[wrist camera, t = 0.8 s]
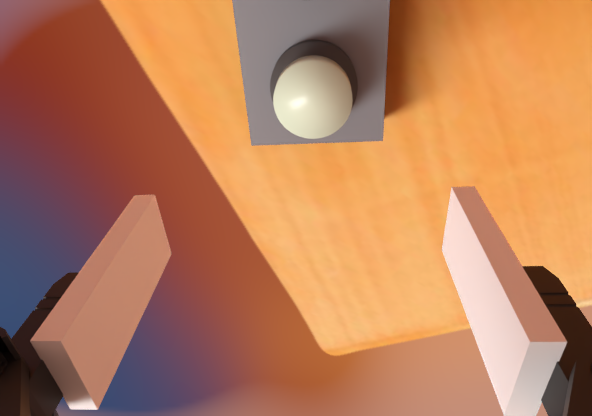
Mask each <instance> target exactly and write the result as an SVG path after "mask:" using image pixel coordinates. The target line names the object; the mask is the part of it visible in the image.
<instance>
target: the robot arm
mask: <svg viewBox="0 0 592 416" xmlns="http://www.w3.org/2000/svg"><path fill="white" fill-rule="evenodd" d="M442 251H443V254H444V257H445V260H446V262H447V265H448V268H449V270H450V273H451V276H452V278H453V281H454V284H455V286H456V289H457V292H458V294H459V297H460V300H461V302H462V305H463V308H464V310H465V313H466V316H467V318H468V321H469V324H470V326H471V329H472V331H473V334H474V337H475V339H476V342H477V345H478V347H479V350H480V353H481V355H482V358H483V361H484V363H485V366H486V369H487V372H488V374H489V377H490V380H491V382H492V385H493V387H494V390H495V393H496V396H497V398H498V401H499V404H500V406H501V409H502V411H503V414H504V416H536V415H537V413H538V410H539V408H540V405H541V403H543V405H544V407H545V409H546V412H547V414H548V416H592V327H591V325H590V324H589V322H588V321H587V319H586V318H585V316H584V315H583V313H582V312H581V310H580V309H579V308H578V307H576V303H575V302H574V300H573V299H572V297H571V296H570V295H568V291H567V290H566V289H565V287H564V286H563V284H562V283H561V281H560V280H559V278H557V277H556V276H555V275H554V274H552V273H551V272H550V271H548V270H547V269H546V268H544V267H543V266H522V265H521V264H520V262H519V260H518V258H517V257H516V255H515V253H514V252H513V250H512V248H511V247H510V245H509V243H508V242H507V240H506V238H505V237H504V235H503V233H502V232H501V230H500V228H499V227H498V225H497V223H496V222H495V220H494V218H493V217H492V215H491V213H490V212H489V210H488V208H487V207H486V205H485V203H484V202H483V200H482V198H481V197H480V195H479V193H478V192H477V190H476V188H475V187H452V188H451V195H450V201H449V208H448V214H447V220H446V227H445V233H444V239H443V246H442ZM170 256H171V250H170V247H169V243H168V240H167V237H166V233H165V229H164V226H163V222H162V218H161V215H160V211H159V208H158V204H157V201H156V197H155V195H135V196H134V197H133V198H132V200H131V201H130V202H129V204H128V205H127V207H126V208H125V209H124V211H123V212H122V214H121V215H120V216H119V218H118V219H117V221H116V222H115V223H114V225H113V226H112V228H111V229H110V230H109V232H108V233H107V234H106V236H105V237H104V239H103V240H102V242H101V243H100V244H99V246H98V247H97V248H96V250H95V251H94V253H93V254H92V255H91V257H90V258H89V259H88V261H87V262H86V264H85V265H84V266H83V268H82V269H81V271H80V272H79V273H67V274H66V275H65V276H64V277H62V278H61V279H60V280H58V281H57V282H56V283H54V284H53V285H52V287H51V288H50V289H49V291H48V292H47V293H46V295H45V296H44V299H43V300H41V301H40V302H39V304H38V305H37V306H36V308H35V311H32V313H31V314H30V315H29V317H28V318H27V319H26V321H25V322H24V323H23V324H22V326H21V327H20V328H19V330H18V331H17V332H16V334H15V335H14V336H13V337H12V339H11V338H10V336H9V335H8V334H7V332H6V330H5V329H3V328H1V327H0V416H58V413H57V411H56V410H55V409H56V407H57V406H58V404H59V402H60V400H61V399H62V397H64V399H65V401H66V402H67V404H68V406H69V407H70V409H90V410H95V409H96V410H98V408H99V406H100V403H101V401H102V399H103V397H104V395H105V393H106V391H107V389H108V387H109V385H110V382H111V380H112V378H113V376H114V374H115V372H116V370H117V368H118V365H119V363H120V361H121V359H122V357H123V355H124V353H125V351H126V349H127V346H128V344H129V342H130V340H131V338H132V336H133V334H134V332H135V330H136V328H137V325H138V323H139V321H140V319H141V317H142V314H143V313H144V311H145V309H146V306H147V304H148V302H149V300H150V298H151V296H152V294H153V291H154V289H155V287H156V285H157V283H158V281H159V279H160V277H161V275H162V272H163V270H164V268H165V266H166V264H167V262H168V260H169V258H170Z"/></svg>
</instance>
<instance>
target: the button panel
mask: <svg viewBox="0 0 592 416" xmlns="http://www.w3.org/2000/svg"><path fill="white" fill-rule="evenodd" d="M232 2H233V9H234V17H235V24H236V32H237V40H238V47H239V55H240V62H241V70H242V77H243V85H244V92H245V100H246V107H247V115H248V123H249V130H250V138H251V145H252V146H253V145H280V144H308V143H336V142H363V141H383V129H384V109H385V90H386V70H387V50H388V30H389V10H390V0H232ZM310 55H317V56H323V57H326V58H329V59H331V60H333V61H334V62H336V63H337V64H338V65H340V66H341V68H342V69H343V70H344V71H345V73H346V74H347V76H348V78H349V81H350V85H351V91H352V99H353V102H352V109H351V112H350V115H349V117H348V119H347V121H346V122H345V123H344V125H343V126H342V127H341V128H340V129H339V130H337V131H336V132H334V133H333V134H331V135H329V136H326V137H323V138H317V139H308V138H303V137H299V136H297V135H295V134H293V133H291V132H290V131H288V130H287V129H286V128H285V127H284V126H283V125H282V124H281V122H280V121H279V119H278V118H277V115H276V113H275V110H274V104H273V96H274V91H275V87H276V84H277V81H278V78H279V76H280V74H281V73H282V71H283V70H284V69H285V68H286V67H287V66H288V65H289V64H290V63H291V62H293V61H294V60H296V59H298V58H301V57H304V56H310Z"/></svg>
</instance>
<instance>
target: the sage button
mask: <svg viewBox="0 0 592 416" xmlns="http://www.w3.org/2000/svg"><path fill="white" fill-rule="evenodd" d="M352 102H353V99H352V91H351V85H350V81H349V78H348V76H347V74H346V73H345V71H344V70H343V69H342V68H341V66H340V65H338V64H337V63H336V62H334V61H333V60H331V59H329V58H326V57H323V56H317V55H310V56H304V57H301V58H298V59H296V60H294V61H293V62H291V63H290V64H289V65H288V66H287V67H286V68H285V69H284V70H283V71H282V73H281V74H280V76H279V78H278V81H277V84H276V87H275V91H274V96H273V104H274V110H275V113H276V115H277V118H278V119H279V121H280V122H281V124H282V125H283V126H284V127H285V128H286V129H287V130H288V131H290V132H291V133H293V134H295V135H297V136H299V137H303V138H308V139H317V138H323V137H326V136H329V135H331V134H333V133H334V132H336V131H337V130H339V129H340V128H341V127H342V126H343V125H344V123H345V122H346V121H347V119H348V117H349V115H350V112H351V109H352Z"/></svg>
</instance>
